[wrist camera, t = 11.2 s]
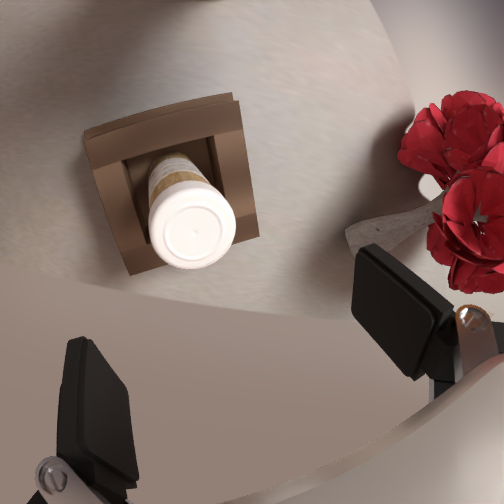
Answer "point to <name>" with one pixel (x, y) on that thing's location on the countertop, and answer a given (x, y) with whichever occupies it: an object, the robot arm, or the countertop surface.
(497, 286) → the bouquet
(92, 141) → the socket block
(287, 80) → the countertop surface
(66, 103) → the countertop surface
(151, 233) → the sprinkles bottle
